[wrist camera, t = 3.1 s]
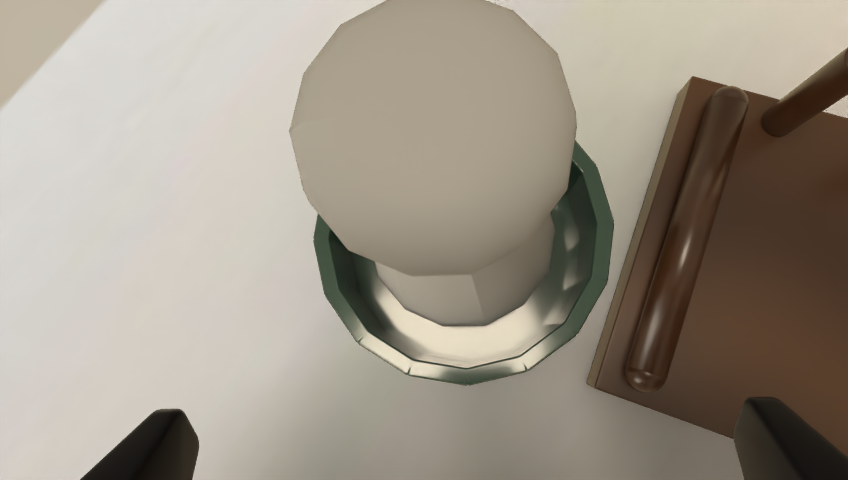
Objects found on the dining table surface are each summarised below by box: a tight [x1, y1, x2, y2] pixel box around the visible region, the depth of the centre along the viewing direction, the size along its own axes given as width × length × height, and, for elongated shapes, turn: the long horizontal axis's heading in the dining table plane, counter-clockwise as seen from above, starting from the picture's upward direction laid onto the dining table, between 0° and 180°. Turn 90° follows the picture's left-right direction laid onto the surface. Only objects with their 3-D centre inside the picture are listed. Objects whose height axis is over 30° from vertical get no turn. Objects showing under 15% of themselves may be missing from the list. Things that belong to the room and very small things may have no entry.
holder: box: [313, 140, 614, 386], centre depth 19 cm, size 9×9×4 cm
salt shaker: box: [289, 0, 577, 327], centre depth 14 cm, size 6×6×13 cm
